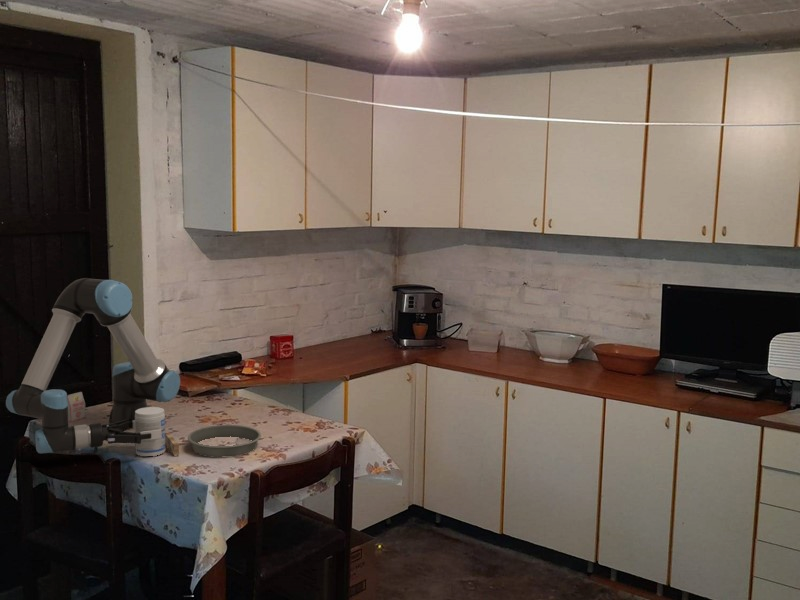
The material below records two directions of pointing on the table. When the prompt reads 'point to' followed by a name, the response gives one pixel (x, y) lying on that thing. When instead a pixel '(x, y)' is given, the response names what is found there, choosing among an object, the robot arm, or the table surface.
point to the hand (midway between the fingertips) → (157, 427)
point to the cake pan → (224, 432)
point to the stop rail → (172, 444)
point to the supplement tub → (147, 422)
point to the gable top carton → (76, 407)
